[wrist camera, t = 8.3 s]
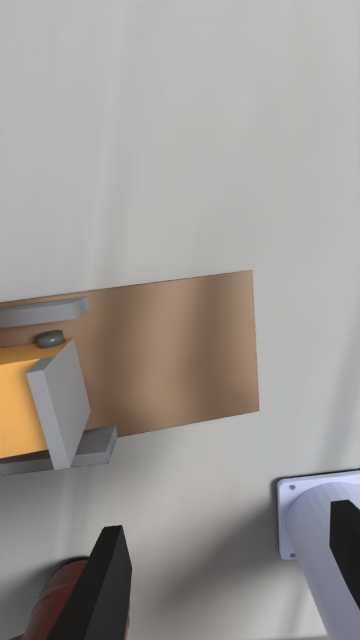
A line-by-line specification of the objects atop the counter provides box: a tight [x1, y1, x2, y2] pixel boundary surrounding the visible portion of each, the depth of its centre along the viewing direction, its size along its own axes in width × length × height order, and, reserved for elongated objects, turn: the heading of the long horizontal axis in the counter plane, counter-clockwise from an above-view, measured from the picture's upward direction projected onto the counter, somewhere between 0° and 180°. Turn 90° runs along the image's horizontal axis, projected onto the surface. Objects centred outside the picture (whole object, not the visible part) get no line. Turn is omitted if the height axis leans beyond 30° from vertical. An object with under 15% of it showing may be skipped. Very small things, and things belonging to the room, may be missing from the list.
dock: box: [0, 270, 259, 476], centre depth 16 cm, size 19×10×5 cm, turn 97°
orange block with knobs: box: [0, 330, 91, 470], centre depth 14 cm, size 6×6×5 cm
